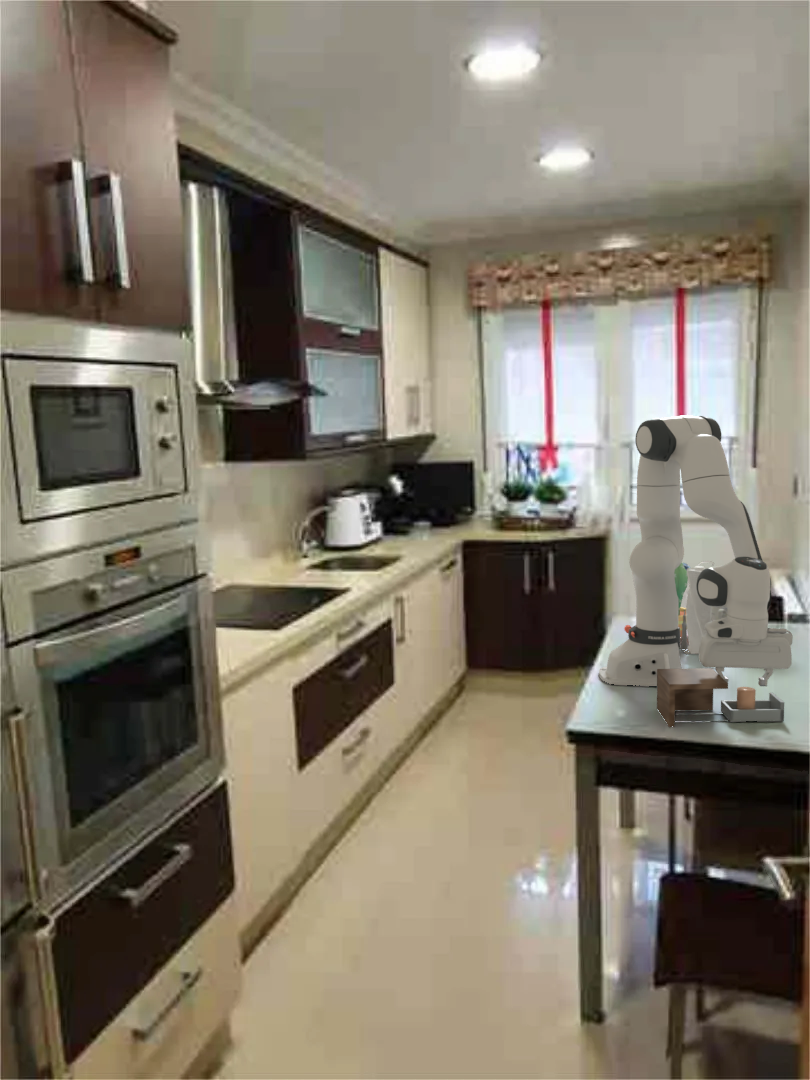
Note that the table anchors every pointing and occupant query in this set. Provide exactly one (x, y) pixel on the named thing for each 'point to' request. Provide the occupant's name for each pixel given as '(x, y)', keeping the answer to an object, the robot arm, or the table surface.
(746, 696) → the peach cylinder
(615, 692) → the table surface
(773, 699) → the tray
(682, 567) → the potted cactus
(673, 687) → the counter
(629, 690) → the table surface
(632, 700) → the table surface
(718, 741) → the table surface
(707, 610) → the skyscraper
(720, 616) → the teacup
